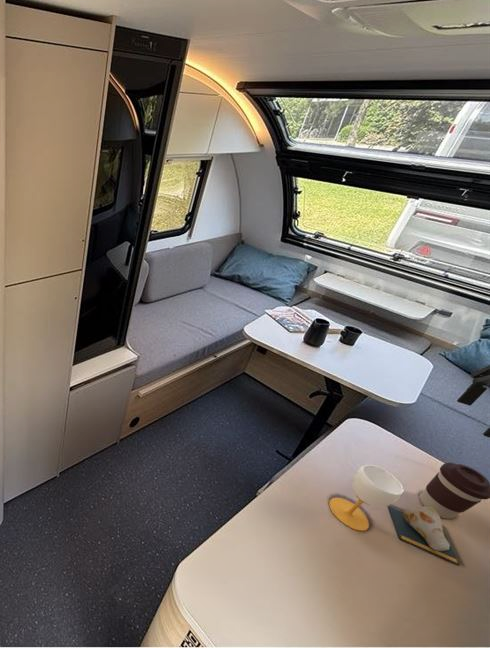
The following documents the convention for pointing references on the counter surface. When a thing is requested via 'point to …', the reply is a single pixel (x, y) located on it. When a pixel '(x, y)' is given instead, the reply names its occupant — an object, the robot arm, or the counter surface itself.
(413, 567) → the counter surface
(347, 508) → the cup
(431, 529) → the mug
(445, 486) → the coffee cup
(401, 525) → the book
